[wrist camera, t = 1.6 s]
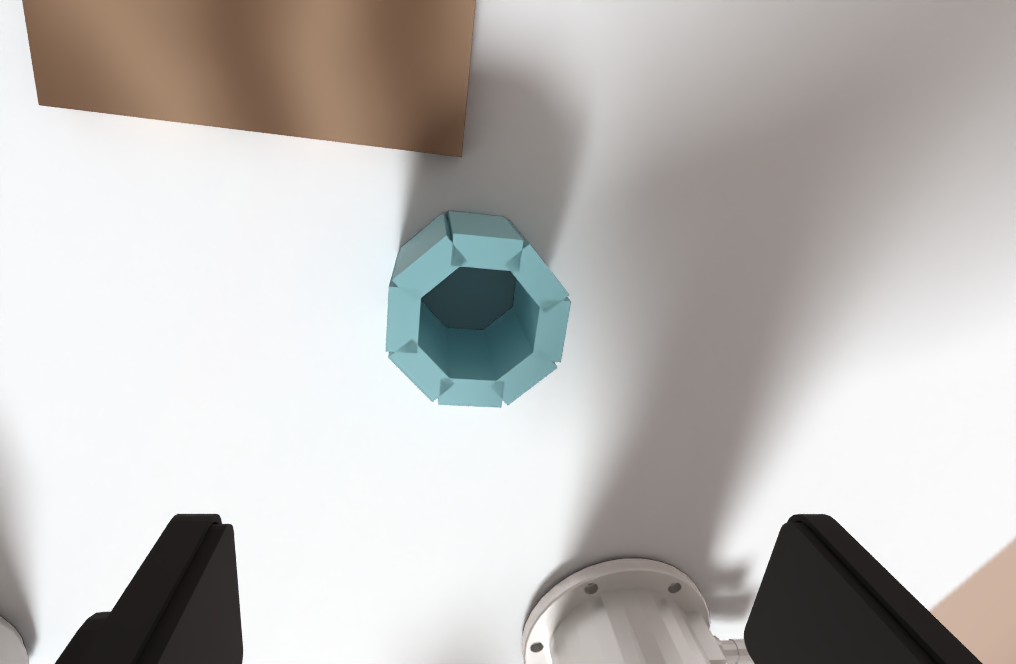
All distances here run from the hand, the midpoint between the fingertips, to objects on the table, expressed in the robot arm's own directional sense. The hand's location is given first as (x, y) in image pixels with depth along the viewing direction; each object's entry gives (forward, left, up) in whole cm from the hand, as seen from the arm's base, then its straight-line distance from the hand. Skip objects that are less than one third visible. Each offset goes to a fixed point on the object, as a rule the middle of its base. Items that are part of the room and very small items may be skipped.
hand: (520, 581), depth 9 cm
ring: (0, 0, -19) cm, 19 cm away
